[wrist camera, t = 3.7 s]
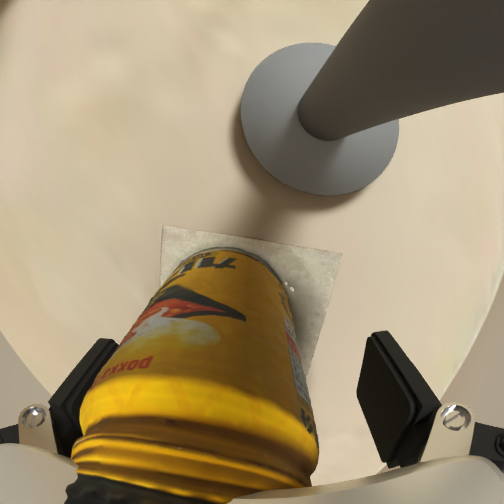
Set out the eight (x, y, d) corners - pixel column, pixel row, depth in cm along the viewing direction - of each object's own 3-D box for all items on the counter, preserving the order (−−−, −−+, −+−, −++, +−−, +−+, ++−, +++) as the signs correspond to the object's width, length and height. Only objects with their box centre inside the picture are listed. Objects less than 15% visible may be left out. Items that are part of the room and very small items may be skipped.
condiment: (164, 225, 13) (-60, 407, 1) (341, 252, 13) (518, 467, 1) (160, 351, 15) (80, 541, 3) (306, 371, 15) (346, 570, 3)
